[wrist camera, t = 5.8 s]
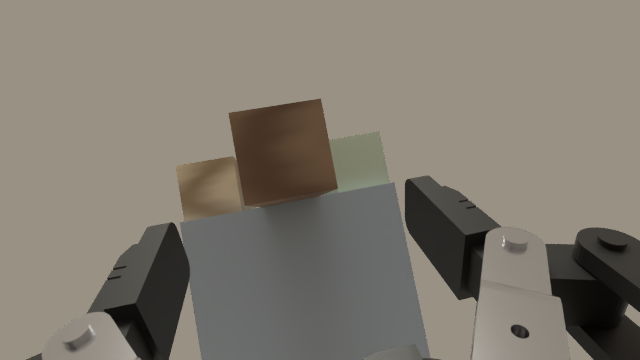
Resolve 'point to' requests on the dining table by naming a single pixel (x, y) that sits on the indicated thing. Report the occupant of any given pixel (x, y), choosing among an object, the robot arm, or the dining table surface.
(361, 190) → the stand
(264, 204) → the walnut bar
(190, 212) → the maple bar
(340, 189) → the sage bar
